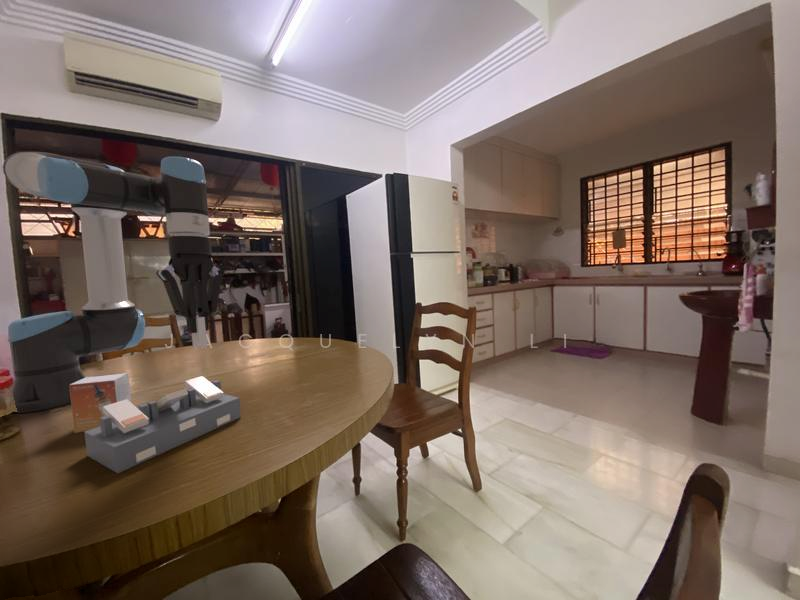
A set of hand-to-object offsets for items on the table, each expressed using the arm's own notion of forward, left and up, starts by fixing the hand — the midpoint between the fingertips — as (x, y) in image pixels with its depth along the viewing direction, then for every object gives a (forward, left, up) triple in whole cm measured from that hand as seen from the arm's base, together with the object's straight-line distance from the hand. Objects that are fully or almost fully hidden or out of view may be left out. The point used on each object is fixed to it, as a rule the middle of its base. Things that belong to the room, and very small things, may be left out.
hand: (200, 346), depth 69 cm
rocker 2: (0, -7, -9) cm, 12 cm away
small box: (-19, -11, -17) cm, 28 cm away
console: (0, -7, -16) cm, 18 cm away
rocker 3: (0, 0, -9) cm, 9 cm away
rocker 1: (0, -14, -9) cm, 17 cm away
